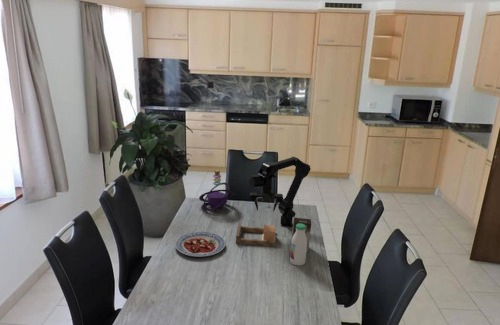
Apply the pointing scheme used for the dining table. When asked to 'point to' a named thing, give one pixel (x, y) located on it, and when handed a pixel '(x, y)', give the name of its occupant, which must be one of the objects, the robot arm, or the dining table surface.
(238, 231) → the bay
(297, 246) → the milk bottle
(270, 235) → the block
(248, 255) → the dining table surface
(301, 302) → the dining table surface
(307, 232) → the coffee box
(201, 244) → the ceramic plate
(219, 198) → the decorative bottle
